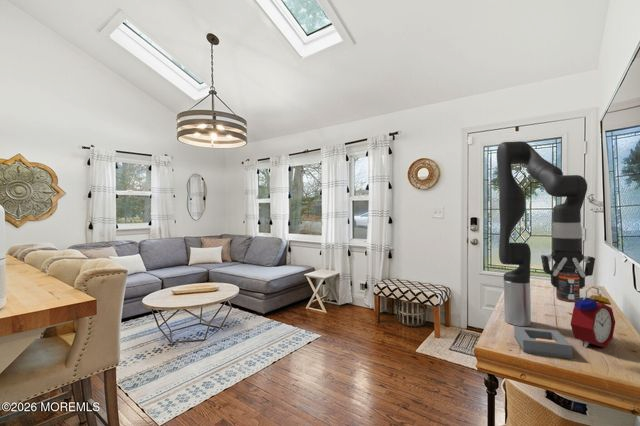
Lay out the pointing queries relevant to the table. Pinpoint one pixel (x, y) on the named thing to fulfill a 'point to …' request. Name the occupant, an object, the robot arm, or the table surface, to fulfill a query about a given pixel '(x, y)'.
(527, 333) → the socket holder
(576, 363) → the table surface
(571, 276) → the supplement bottle
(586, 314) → the alarm clock
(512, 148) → the robot arm
